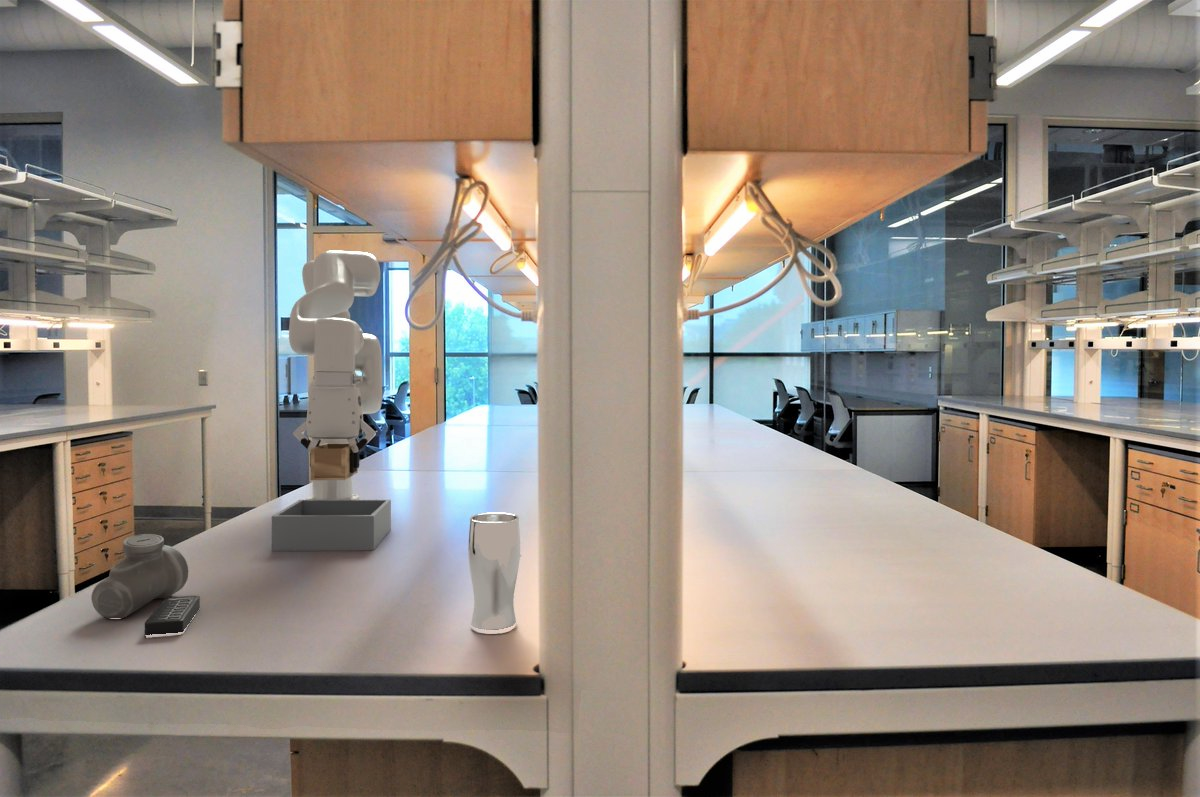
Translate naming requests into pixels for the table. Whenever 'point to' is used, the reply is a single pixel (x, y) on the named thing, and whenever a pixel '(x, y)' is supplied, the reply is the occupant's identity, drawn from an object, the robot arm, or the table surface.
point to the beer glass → (494, 568)
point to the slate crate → (331, 525)
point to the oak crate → (331, 462)
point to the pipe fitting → (140, 576)
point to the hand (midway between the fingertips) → (334, 471)
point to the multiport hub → (172, 615)
